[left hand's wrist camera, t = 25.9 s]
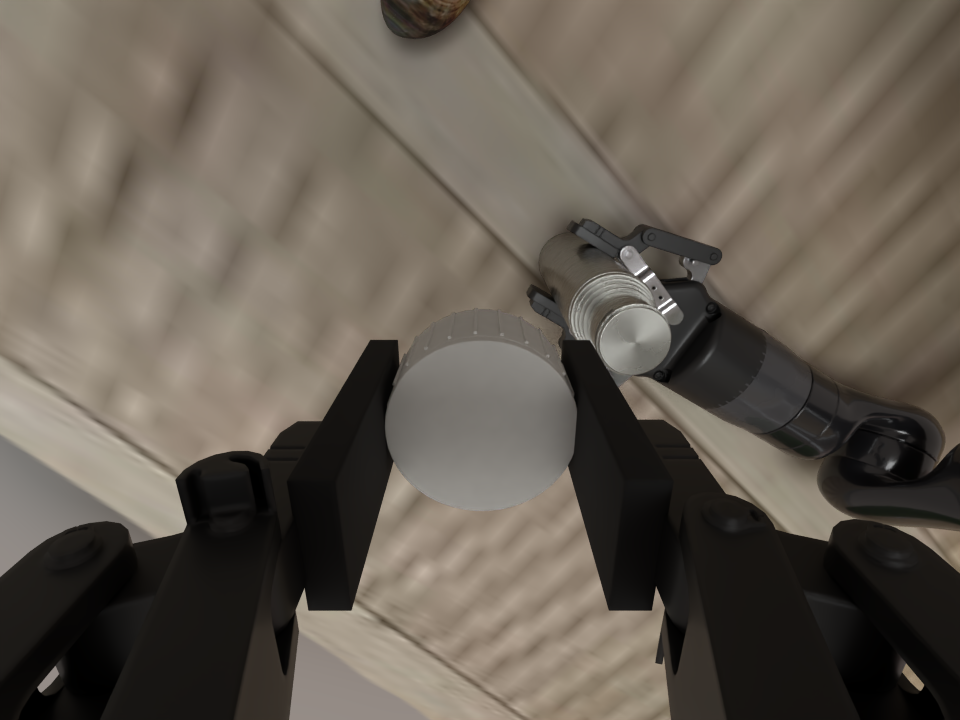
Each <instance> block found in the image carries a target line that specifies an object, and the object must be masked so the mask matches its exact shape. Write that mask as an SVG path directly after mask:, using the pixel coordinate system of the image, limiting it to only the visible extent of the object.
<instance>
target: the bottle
mask: <svg viewBox="0 0 960 720" xmlns="http://www.w3.org/2000/svg"><path fill="white" fill-rule="evenodd" d="M539 269H540V272H541V275H542V277H543V279H544V281H545V283H546V285H547V287H548V288H549V290H550V292H551V294H552V296H553V298H554V300H555V302H556V304H557V306H558V308H559V310H560V312H561V314H562V316H563V317H564V319H565V321H566V323H567V325H568V327H569V329H570V331H571V333H572V335H573V336H574V338H575V339H576V340H590V341H591V343H592V344H593V346H594V348H595V349H596V351H597V353H598V354H599V356H600V358H601V359H602V361H603V363H604V365H605V366H606V367H607V368H608V369H609V370H611V371H613V372H615V373H616V374H619V375H623V376H625V375H638V374H643V373H646V372H648V371H650V370H652V369H654V368H655V367H656V366H658V365H659V364H660V363H661V362H662V361H663V360H664V358H665V357H666V355H667V353H668V351H669V349H670V345H671V339H672V337H671V329H670V325H669V323H668V321H667V318H666V317H665V316H664V315H663V314H662V313H661V311H659V310H658V309H656V303H655V299H654V296H653V295H652V292H651V291H650V289H649V287H648V286H647V285H646V284H645V283H644V282H643V281H642V280H641V279H640V278H638V277H637V276H636V275H634V274H633V273H632V272H630V271H629V270H627V269H626V268H625V267H623V266H622V265H621V264H619V263H618V262H617V261H615V260H614V259H612V258H611V257H610V256H608V255H607V254H606V253H604V252H603V251H601V250H599V249H598V248H596V247H594V246H593V245H591V244H590V243H588V242H586V241H585V240H583V239H582V238H580V237H578V236H577V235H575V234H574V233H564V234H560V235H557V236H555V237H553V238H552V239H550V240H549V241H548V242H547V243H546V244H545V246H544V247H543V249H542V251H541V253H540V257H539Z"/></svg>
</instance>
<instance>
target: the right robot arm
mask: <svg viewBox="0 0 960 720" xmlns="http://www.w3.org/2000/svg"><path fill="white" fill-rule="evenodd" d="M567 229H568V230H569V231H571V232H572V233H574V234H575V235H577V236H578V237H580V238H582V239H583V240H585V241H586V242H588V243H590V244H591V245H593V246H594V247H596V248H598V249H599V250H601V251H603V252H604V253H606V254H607V255H609V256H610V257H612V258H614V257H616V258H617V260H618V261H619V263H620V264H621V265H622V266H623V267H625V268H626V269H627V270H629V271H630V272H632V273H633V274H634V275H636V276H637V277H638V278H640V279H641V280H642V281H643V282H644V283H645V284H646V285H647V286H648V287H649V289H650V291H651V292H652V295H653V296H654V299H655V303H656V309H658V310H659V311H661V313H662V314H663V315H664V316H665V317H666V318H667V321H668V323H669V325H670V329H671V337H672V339H671V345H670V349H669V351H668V353H667V355H666V357H665V358H664V360H663V361H662V362H661V363H660V364H659V365H658V366H656V367H655V368H654V369H652V370H650V371H648V372H646V373H643V374H638V375H634V376H639V377H649V378H651V379H653V380H655V381H657V382H659V383H660V384H662V385H664V386H665V387H667V388H669V389H671V390H672V391H674V392H676V393H677V394H679V395H681V396H683V397H684V398H686V399H688V400H689V401H691V402H693V403H694V404H696V405H698V406H700V407H701V408H703V409H705V410H706V411H708V412H710V413H712V414H713V415H715V416H717V417H718V418H720V419H722V420H724V421H726V422H728V423H730V424H733V425H735V426H738V427H740V428H743V429H745V430H747V431H748V432H750V433H752V434H753V435H755V436H757V437H759V438H760V439H762V440H764V441H765V442H767V443H769V444H771V445H772V446H774V447H776V448H777V449H779V450H781V451H783V452H784V453H786V454H788V455H791V456H793V457H796V458H799V459H804V460H815V459H820V458H823V457H825V458H824V460H823V462H822V464H821V466H820V469H819V471H818V475H817V485H818V488H819V490H820V492H821V494H822V495H823V497H824V498H825V499H826V500H827V501H828V503H830V504H831V505H832V506H833V507H834V508H836V509H837V510H839V511H841V512H842V513H844V514H846V515H848V516H851V517H853V518H856V519H859V520H868V521H874V522H879V523H882V524H884V525H885V524H886V525H891V526H903V527H921V528H934V529H943V530H951V531H959V532H960V443H959V444H958V445H957V446H955V447H954V448H953V449H952V450H951V451H950V452H949V453H948V454H947V455H946V456H945V457H944V458H943V460H942V461H941V462H940V463H939V464H938V465H937V463H938V462H939V459H940V457H941V455H942V453H943V450H944V447H945V434H944V431H943V429H942V427H941V425H940V424H939V422H938V421H937V420H936V418H935V417H934V416H932V415H931V414H930V413H928V412H927V411H925V410H923V409H921V408H919V407H916V406H913V405H910V404H907V403H904V402H900V401H895V400H891V399H887V398H882V397H878V396H874V395H871V394H868V393H865V392H862V391H859V390H856V389H853V388H851V387H848V386H845V385H843V384H841V383H839V382H837V381H835V380H833V379H832V378H830V377H828V376H827V375H825V374H824V373H822V372H821V371H819V370H817V369H816V368H814V367H813V366H811V365H810V364H808V363H806V362H805V361H803V360H802V359H800V358H799V357H798V356H797V355H796V354H795V353H793V352H792V351H791V350H790V349H789V348H788V347H787V346H785V345H784V344H782V343H781V342H780V341H778V340H777V339H775V338H773V337H772V336H770V335H769V334H768V333H767V332H765V331H764V330H762V329H760V328H758V327H756V326H755V325H753V324H751V323H750V322H748V321H747V320H745V319H744V318H742V317H740V316H739V315H737V314H736V313H734V312H733V311H731V310H729V309H728V308H726V307H725V306H723V305H722V304H720V303H718V302H717V301H715V300H714V299H712V298H711V297H710V296H709V295H708V293H707V291H706V288H705V286H704V285H703V284H702V283H703V281H704V279H705V277H706V275H707V272H708V270H709V268H710V266H711V265H715V264H717V263H719V262H720V260H721V258H722V252H721V251H720V250H719V249H718V248H715V247H712V246H709V245H706V244H704V243H701V242H697V241H694V240H691V239H688V238H685V237H682V236H679V235H675V234H672V233H669V232H666V231H663V230H660V229H657V228H653V227H650V226H647V225H644V224H641V225H638V226H637V227H636V228H635V229H634V231H633V232H632V233H631V234H629V235H628V236H626V237H623V238H619V237H617V236H615V235H614V234H612V233H611V232H609V231H608V230H606V229H604V228H603V227H601V226H600V225H598V224H597V223H595V222H593V221H592V220H589V219H582V220H581V222H580V223H579V224H577V223H575V222H574V221H571V223H570V224H569V226H568V227H567ZM649 246H652V247H655V248H658V249H661V250H664V251H668V252H671V253H674V254H677V255H680V257H679V264H680V265H681V266H682V267H684V268H685V269H686V270H687V277H685V278H674V279H663V280H659V279H658V278H657V277H656V275H655V274H654V272H653V271H652V270H651V269H650V268H649V267H648V266H647V264H646V263H645V261H644V260H643V259H642V257H641V256H640V253H641V252H642V251H644V250H645V249H646V248H647V247H649ZM526 293H527V296H528V297H529V298H530V301H529V302H530V305H531V307H532V308H533V309H534V311H535V312H537V313H539V314H540V315H542V316H544V317H545V318H547V319H549V320H551V321H552V322H554V323H556V324H557V325H559V326H561V327H562V328H563V332H562V336H561V337H560V338H559V341H558V344H559V346H560V348H561V350H562V341H563V340H576V339H575V338H574V336H573V335H572V333H571V331H570V329H569V327H568V325H567V323H566V321H565V319H564V317H563V316H562V314H561V312H560V310H559V308H558V306H557V304H556V302H555V300H554V298H553V296H551V295H550V294H548V293H546V292H545V291H543V290H541V289H540V288H538V287H536V286H534V285H532V284H531V285H530V287H529V288H528V290H527V292H526ZM606 368H607V367H606ZM607 370H608V371H609V373H610V375H611V376H612V378H613V380H614V381H615V383H616V385H617V386H618V387H619V386H621V385H622V384H623V383H624V382H625V381H627V380H628V379H629V378H630V377H631V376H632V375H625V376H623V375H619V374H616V373H615V372H613V371H611V370H609V369H608V368H607Z"/></svg>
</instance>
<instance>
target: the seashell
mask: <svg viewBox="0 0 960 720" xmlns="http://www.w3.org/2000/svg"><path fill="white" fill-rule="evenodd" d="M469 1H470V0H381V9H382V13H383V17H384V20H385V22H386V24H387V26H388V28H389V29H390V30H391V31H392V32H393V33H394V34H396V35H398V36H400V37H404V38H412V39H417V38H424V37H428V36H431V35H433V34H436V33H437V32H439V31H441V30H442V29H444V28H445V27H447V26H448V25H449V24H450V23H451V22H453V21H454V20H455V19H456V18H457V17H458V15H459V14H460V13H461V12H462V11H463V10H464V8H465V7H466V6H467V4H468V3H469Z"/></svg>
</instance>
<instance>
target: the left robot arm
mask: <svg viewBox="0 0 960 720" xmlns="http://www.w3.org/2000/svg"><path fill="white" fill-rule="evenodd" d="M561 363H563V366H564V368H565V371H566V373H567V376H568V378H569V381H570V383H571V386H572V389H573V391H574V400H575V402H576V406H577V419H576V432H575V444H574V454H573V456H572V459H571V460H570V462H569V464H568V467H569V471H570V474H571V478H572V482H573V485H574V489H575V492H576V496H577V499H578V503H579V506H580V510H581V513H582V517H583V520H584V524H585V528H586V531H587V535H588V538H589V542H590V545H591V549H592V552H593V556H594V559H595V563H596V566H597V570H598V574H599V577H600V581H601V584H602V588H603V591H604V595H605V598H606V602H607V605H608V609H609V610H628V611H652V606H653V601H654V595H655V589H656V587H657V589H658V592H659V594H660V597H661V599H662V601H663V604H664V606H665V611H664V616H663V622H662V627H661V632H660V638H659V643H658V649H657V655H656V662H655V663H658V664H662V663H663V657H664V660H665V669H666V678H667V687H668V696H669V705H670V714H671V720H960V573H959V572H957V571H956V570H955V569H954V568H953V567H952V566H950V565H949V564H948V563H947V562H946V561H945V560H944V559H942V558H941V557H940V556H939V555H938V554H937V553H935V552H934V551H933V550H932V549H931V548H929V547H928V546H926V545H925V544H923V543H922V542H921V541H919V540H918V539H916V538H915V537H913V536H911V535H909V534H907V533H905V532H903V531H900V530H898V529H897V528H895V527H892V526H889V525H886V524H885V525H884V524H882V523H879V522H874V521H868V520H859V519H852V520H845V521H840V522H839V523H838V524H837V525H836V526H834V527H833V529H832V532H831V535H830V538H829V542H828V541H823V540H818V539H813V538H809V537H804V536H799V535H794V534H789V533H786V532H782V531H778V530H776V529H775V527H774V525H773V523H772V522H771V521H770V519H769V518H768V516H767V515H766V514H765V513H764V512H763V511H761V510H760V509H759V508H757V507H756V506H755V505H753V504H752V503H750V502H747V501H745V500H743V499H741V498H738V497H736V496H732V495H728V494H726V493H725V492H724V491H723V489H722V488H721V486H720V485H719V484H718V482H717V481H716V480H715V478H714V477H713V475H712V474H711V473H710V471H709V470H708V469H707V467H706V466H705V464H704V463H703V462H702V460H701V459H699V458H698V457H699V456H698V455H697V453H696V452H695V451H694V449H693V448H690V444H689V442H688V441H687V440H686V438H685V437H684V436H683V434H682V433H681V431H679V430H678V429H676V428H675V427H673V426H672V425H670V424H669V423H667V422H665V421H664V420H637V418H636V417H635V415H634V413H633V412H632V410H631V408H630V407H629V405H628V403H627V402H626V400H625V398H624V396H623V395H622V393H621V391H620V390H619V388H618V386H617V385H616V383H615V381H614V380H613V378H612V376H611V375H610V373H609V371H608V370H607V368H606V366H605V365H604V363H603V361H602V359H601V358H600V356H599V354H598V353H597V351H596V349H595V348H594V346H593V344H592V343H591V341H590V340H563V341H562V356H561ZM398 369H399V351H398V340H370V342H369V343H368V345H367V347H366V348H365V350H364V352H363V353H362V355H361V357H360V358H359V360H358V362H357V363H356V365H355V367H354V368H353V370H352V372H351V374H350V375H349V377H348V379H347V380H346V382H345V384H344V385H343V387H342V389H341V390H340V392H339V394H338V395H337V397H336V399H335V400H334V402H333V404H332V405H331V407H330V409H329V411H328V412H327V414H326V416H325V417H324V419H323V421H298V422H296V423H295V424H293V425H292V426H290V427H289V428H287V429H286V430H284V431H282V432H281V433H280V434H279V435H278V437H277V438H276V439H275V441H274V442H273V444H272V445H271V446H270V449H268V451H267V452H266V453H265V455H264V456H263V455H261V454H259V453H255V452H250V451H231V452H226V453H221V454H216V455H213V456H210V457H208V458H205V459H203V460H200V461H198V462H196V463H194V464H193V465H191V466H190V467H188V468H186V469H185V470H184V471H183V472H182V473H181V474H180V475H179V476H178V477H177V479H176V480H175V481H176V484H177V488H178V492H179V496H180V499H181V503H182V507H183V511H184V514H185V518H186V522H187V526H186V528H185V530H184V532H183V533H179V534H175V535H172V536H167V537H162V538H158V539H153V540H148V541H144V542H138V543H134V544H133V543H132V540H131V537H130V534H129V531H128V529H127V528H125V527H124V526H123V525H122V524H120V523H115V522H108V521H104V522H95V523H88V524H84V525H79V526H78V527H73V528H70V529H67V530H65V531H63V532H62V533H59V534H57V535H55V536H53V537H51V538H49V539H47V540H46V541H44V542H43V543H41V544H40V545H38V546H37V547H36V548H34V549H33V550H31V551H30V552H29V553H28V554H26V555H25V556H24V557H23V558H22V559H21V560H20V561H18V562H17V563H16V564H15V565H14V566H13V567H12V568H10V569H9V570H8V571H7V572H6V573H5V574H3V575H2V576H1V577H0V720H289V715H290V706H291V697H292V688H293V679H294V670H295V661H296V652H297V643H298V634H299V629H298V622H297V616H296V611H295V610H296V607H297V605H298V602H299V600H300V598H301V595H302V593H303V590H304V588H305V593H306V599H307V604H308V610H309V611H351V610H352V607H353V603H354V600H355V596H356V592H357V589H358V585H359V582H360V578H361V575H362V571H363V568H364V564H365V561H366V557H367V554H368V550H369V546H370V543H371V539H372V536H373V532H374V529H375V525H376V522H377V518H378V515H379V511H380V508H381V504H382V500H383V497H384V493H385V490H386V486H387V483H388V479H389V476H390V472H391V469H392V465H393V459H392V457H391V454H390V451H389V449H388V445H387V441H386V435H385V414H386V410H387V403H388V400H389V397H390V395H391V392H392V389H393V387H394V386H393V385H392V384H393V382H394V379H395V376H396V374H397V371H398ZM905 664H907V665H908V666H909V667H910V668H911V669H912V671H913V672H914V673H915V674H916V675H917V676H918V678H919V679H920V680H921V681H922V682H923V684H924V687H923V689H922V690H921V691H919V690H918V689H917V688H916V687H915V686H914V685H913V684H912V683H910V681H909V680H908V679H907V678H906V677H905V675H904V674H903V673H902V671H903V669H904V666H905ZM55 665H56V668H57V670H58V672H59V675H58V676H57V678H56V679H55V680H54V681H53V682H52V684H51V685H50V686H49V687H47V688H46V689H45V690H44V691H43V692H42V693H41V692H39V690H38V688H37V687H38V686H39V684H40V683H41V682H42V681H43V680H44V678H45V677H46V676H47V675H48V674H49V673H50V671H51V670H52V669H53V668H54V667H55Z"/></svg>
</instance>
